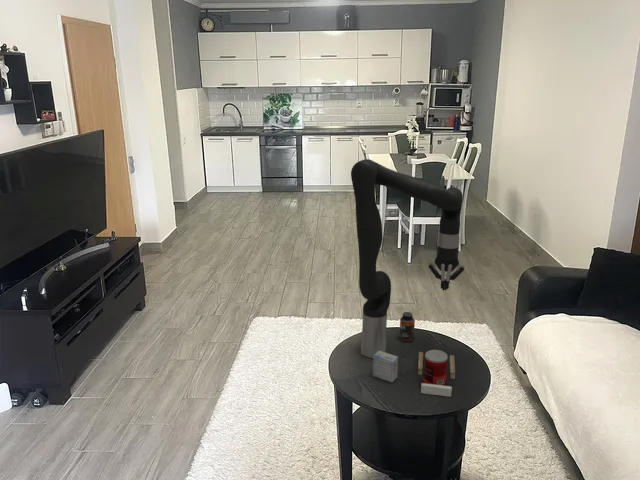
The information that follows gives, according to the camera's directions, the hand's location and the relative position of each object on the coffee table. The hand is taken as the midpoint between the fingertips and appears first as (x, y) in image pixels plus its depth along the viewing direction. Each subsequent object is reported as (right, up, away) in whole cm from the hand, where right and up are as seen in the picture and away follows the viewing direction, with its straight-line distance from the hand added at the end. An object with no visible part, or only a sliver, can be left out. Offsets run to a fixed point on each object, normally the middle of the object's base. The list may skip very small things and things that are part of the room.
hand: (444, 289), depth 185 cm
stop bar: (-6, -34, -12) cm, 37 cm away
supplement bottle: (-10, -23, +25) cm, 35 cm away
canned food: (-5, -33, -5) cm, 33 cm away
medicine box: (-22, -32, -2) cm, 39 cm away
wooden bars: (-2, -29, +4) cm, 30 cm away
